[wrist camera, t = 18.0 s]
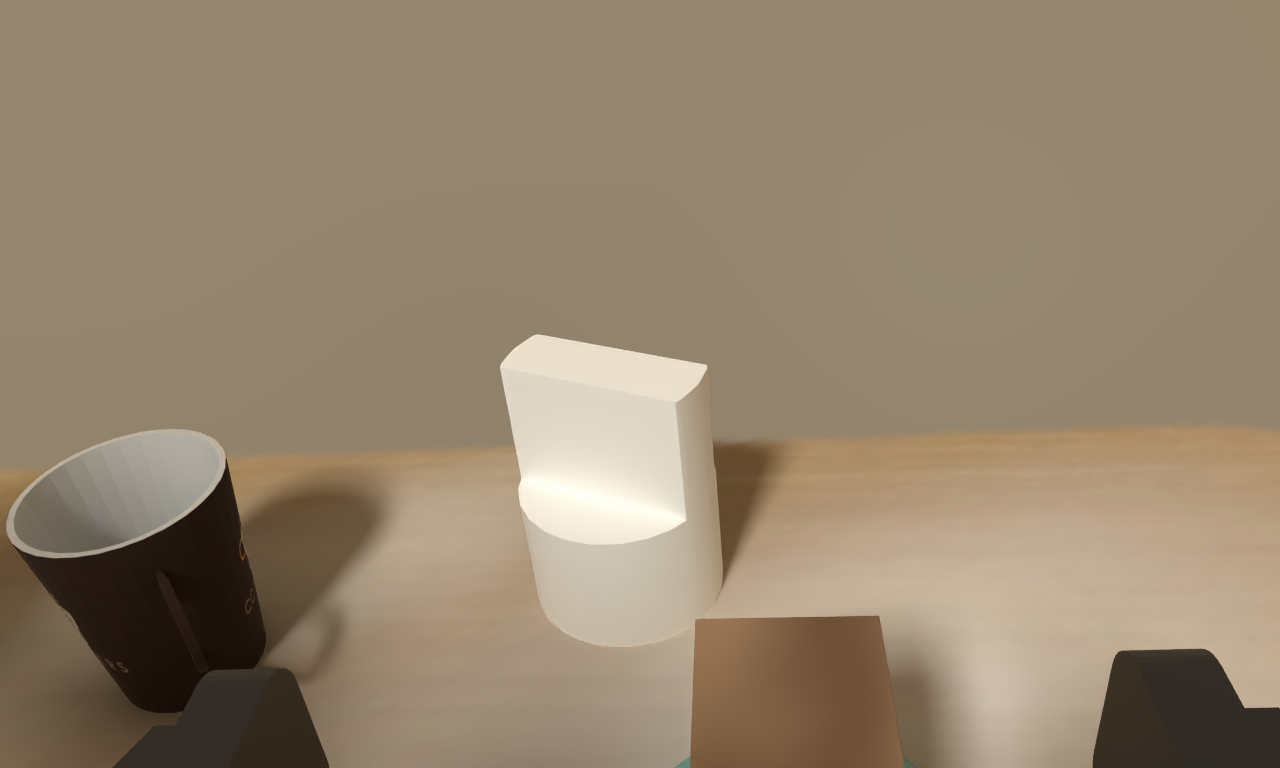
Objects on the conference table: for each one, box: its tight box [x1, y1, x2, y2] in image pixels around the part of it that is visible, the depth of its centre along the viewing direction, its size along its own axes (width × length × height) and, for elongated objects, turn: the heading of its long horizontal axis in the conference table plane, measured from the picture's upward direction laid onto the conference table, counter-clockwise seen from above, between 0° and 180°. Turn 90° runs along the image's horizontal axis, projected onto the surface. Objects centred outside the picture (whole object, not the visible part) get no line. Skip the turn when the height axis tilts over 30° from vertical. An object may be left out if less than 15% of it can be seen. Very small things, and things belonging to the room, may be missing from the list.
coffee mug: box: [6, 429, 266, 713], centre depth 45 cm, size 12×9×10 cm
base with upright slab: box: [500, 334, 723, 647], centre depth 47 cm, size 9×9×12 cm
